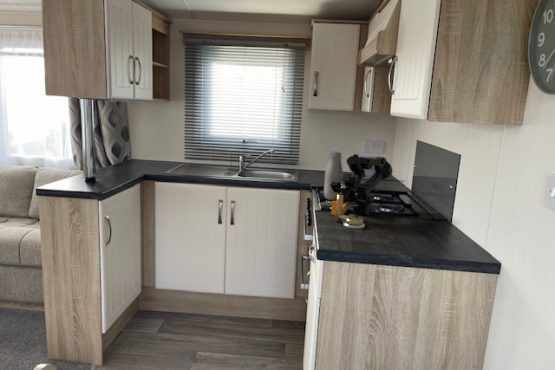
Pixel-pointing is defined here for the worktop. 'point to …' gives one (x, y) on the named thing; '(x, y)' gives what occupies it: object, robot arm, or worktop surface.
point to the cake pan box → (370, 171)
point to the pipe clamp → (335, 207)
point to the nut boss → (353, 226)
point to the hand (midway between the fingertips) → (342, 203)
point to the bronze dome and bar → (348, 219)
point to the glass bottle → (332, 174)
